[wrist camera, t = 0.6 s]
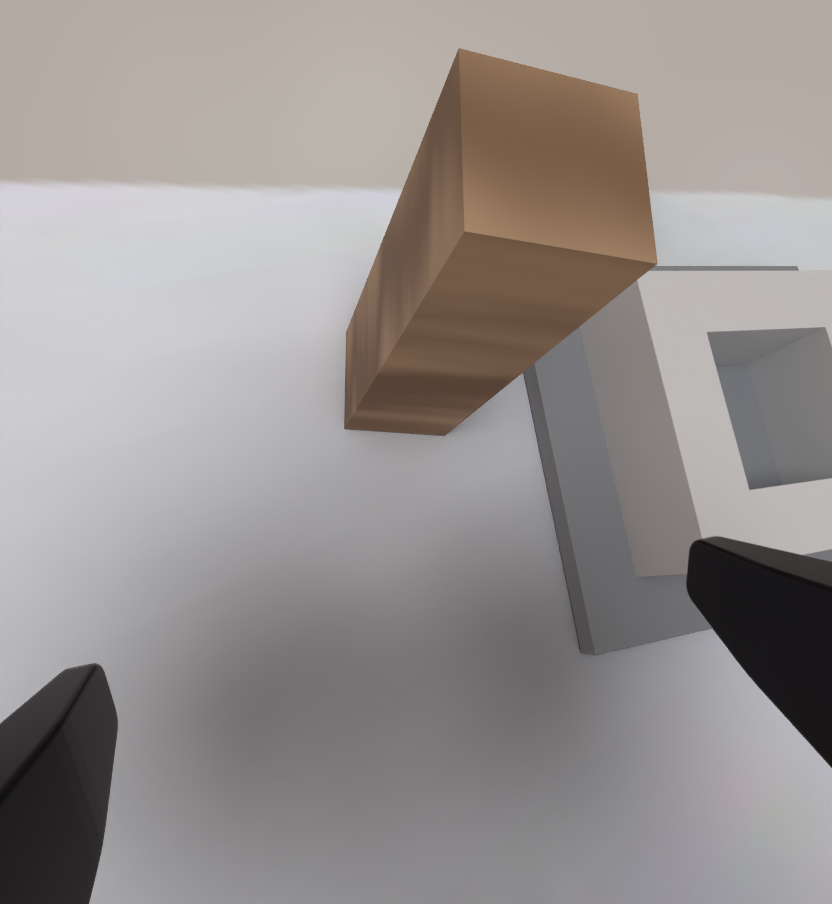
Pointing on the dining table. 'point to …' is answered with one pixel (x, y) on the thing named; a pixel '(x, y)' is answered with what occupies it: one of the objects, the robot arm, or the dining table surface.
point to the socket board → (596, 507)
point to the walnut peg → (497, 242)
